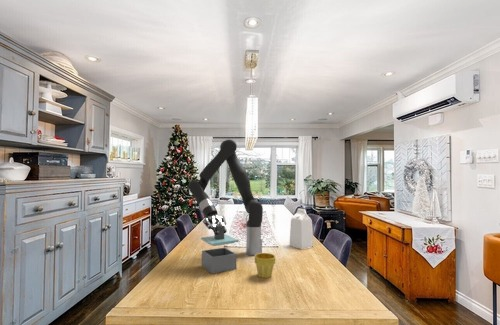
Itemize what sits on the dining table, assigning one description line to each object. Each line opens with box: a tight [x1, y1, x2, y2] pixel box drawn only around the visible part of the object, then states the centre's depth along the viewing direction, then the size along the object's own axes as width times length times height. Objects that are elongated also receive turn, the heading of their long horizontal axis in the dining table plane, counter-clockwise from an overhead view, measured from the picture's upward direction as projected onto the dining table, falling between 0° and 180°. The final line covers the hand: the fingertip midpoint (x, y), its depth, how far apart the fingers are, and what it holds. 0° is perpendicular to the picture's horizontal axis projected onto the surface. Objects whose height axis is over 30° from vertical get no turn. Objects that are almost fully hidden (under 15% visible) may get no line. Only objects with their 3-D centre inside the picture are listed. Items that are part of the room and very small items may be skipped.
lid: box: [200, 224, 239, 247], centre depth 149 cm, size 15×15×9 cm
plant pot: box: [254, 252, 276, 279], centre depth 137 cm, size 10×10×10 cm
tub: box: [201, 247, 238, 275], centre depth 148 cm, size 14×14×8 cm
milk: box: [289, 208, 314, 250], centre depth 194 cm, size 12×12×26 cm
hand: (221, 233), depth 147 cm, fingers closed on lid, 5 cm apart
